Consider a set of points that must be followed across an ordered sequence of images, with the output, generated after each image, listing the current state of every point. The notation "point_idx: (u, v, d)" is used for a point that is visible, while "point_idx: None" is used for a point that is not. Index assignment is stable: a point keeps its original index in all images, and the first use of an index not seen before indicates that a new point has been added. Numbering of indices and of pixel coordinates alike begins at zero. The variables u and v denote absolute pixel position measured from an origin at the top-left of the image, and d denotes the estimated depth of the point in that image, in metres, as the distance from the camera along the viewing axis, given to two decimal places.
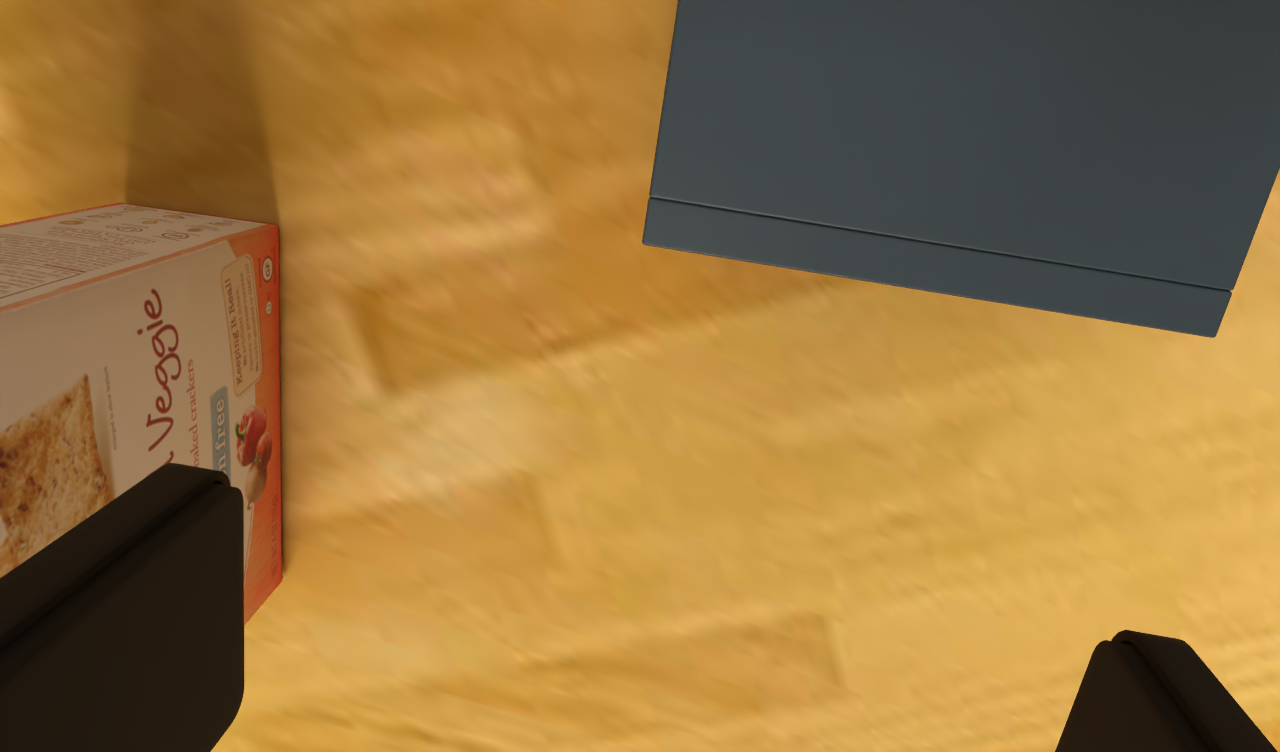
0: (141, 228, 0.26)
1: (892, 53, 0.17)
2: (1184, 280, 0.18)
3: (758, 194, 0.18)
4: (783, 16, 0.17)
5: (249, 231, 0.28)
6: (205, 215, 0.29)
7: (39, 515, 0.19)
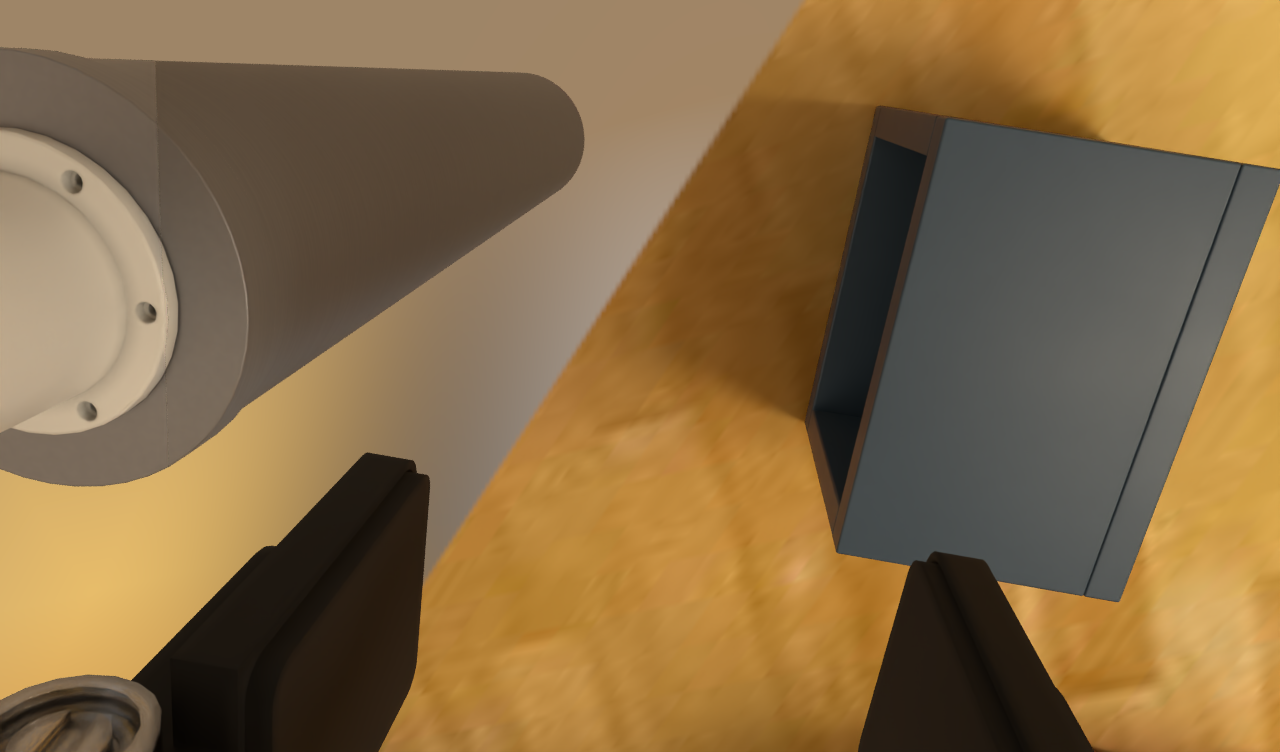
0: None
1: (1003, 438, 0.23)
2: (1224, 206, 0.21)
3: (1094, 524, 0.24)
4: (968, 509, 0.24)
5: None
6: None
7: None
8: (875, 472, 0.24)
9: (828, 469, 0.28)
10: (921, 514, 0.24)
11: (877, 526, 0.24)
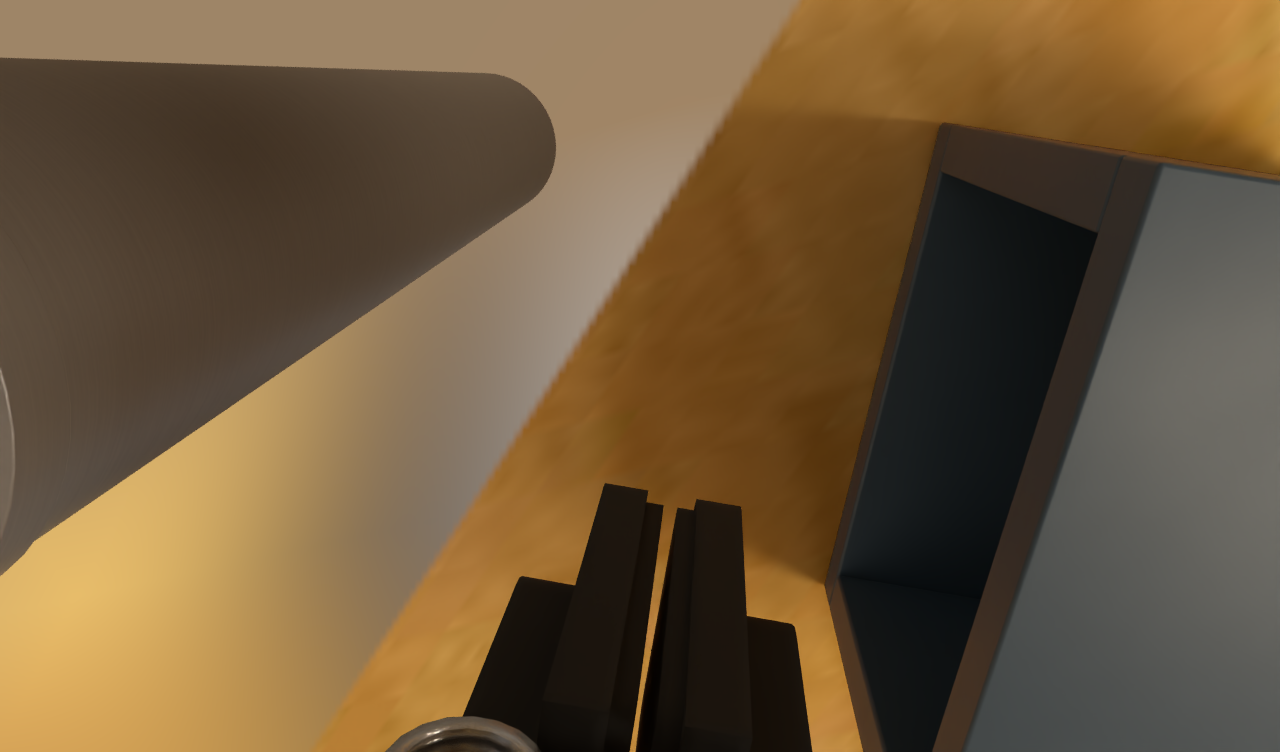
0: None
1: None
2: None
3: None
4: None
5: None
6: None
7: None
8: None
9: (875, 722, 0.17)
10: None
11: None
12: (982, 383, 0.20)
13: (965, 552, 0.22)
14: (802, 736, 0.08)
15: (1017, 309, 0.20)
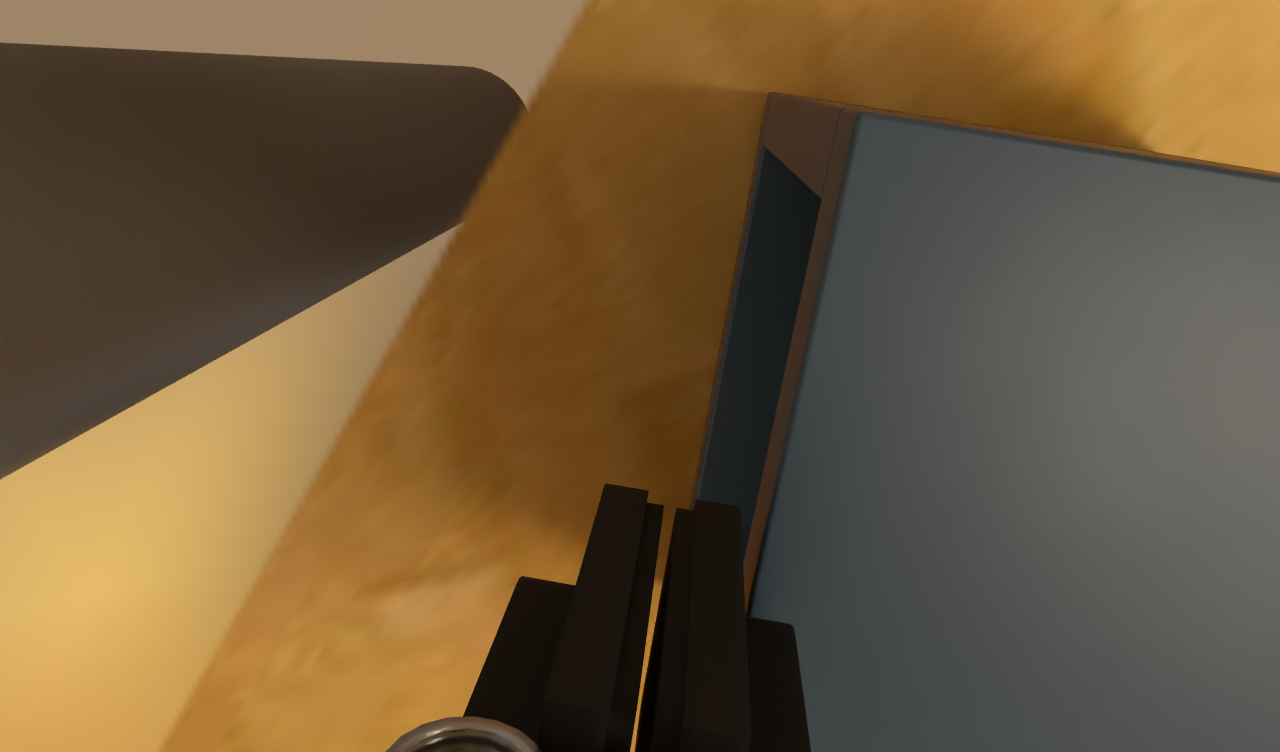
0: None
1: None
2: None
3: None
4: None
5: None
6: None
7: None
8: None
9: None
10: None
11: None
12: None
13: None
14: (801, 737, 0.08)
15: None
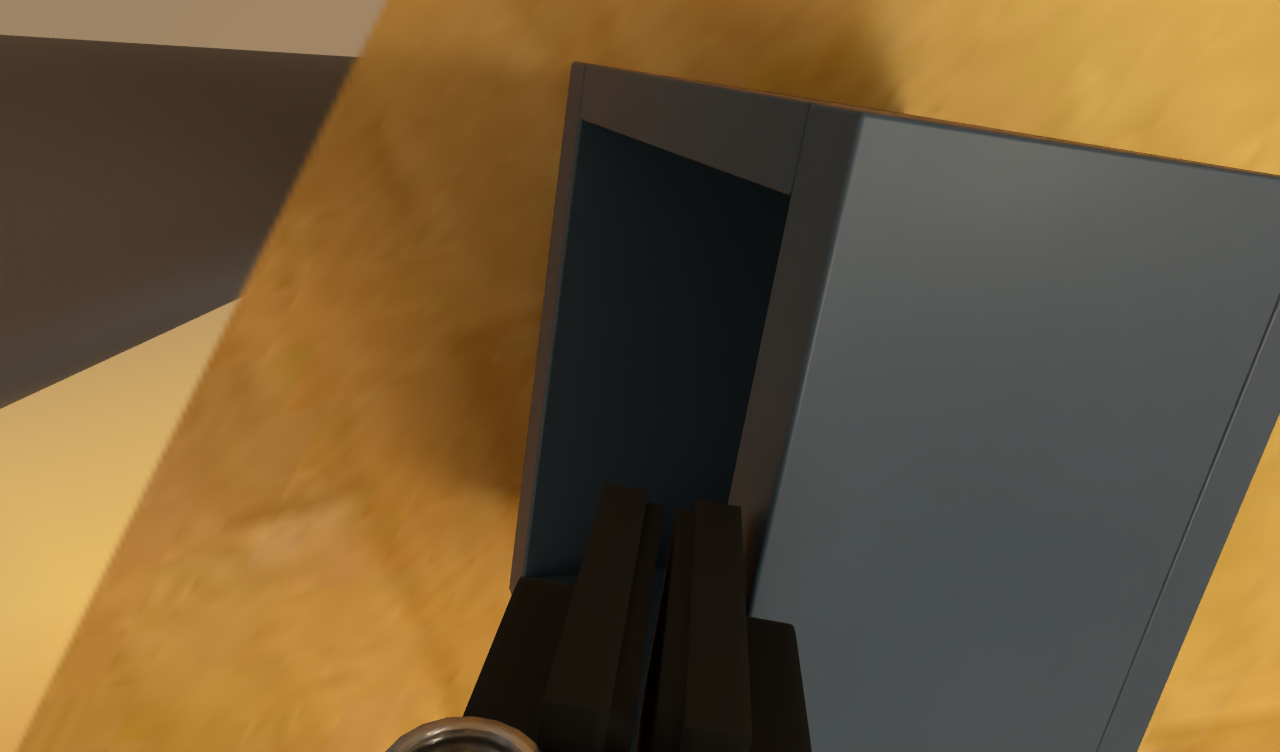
0: None
1: (944, 719, 0.12)
2: None
3: None
4: None
5: None
6: None
7: None
8: None
9: None
10: None
11: None
12: (648, 348, 0.19)
13: None
14: (802, 736, 0.08)
15: (674, 266, 0.18)
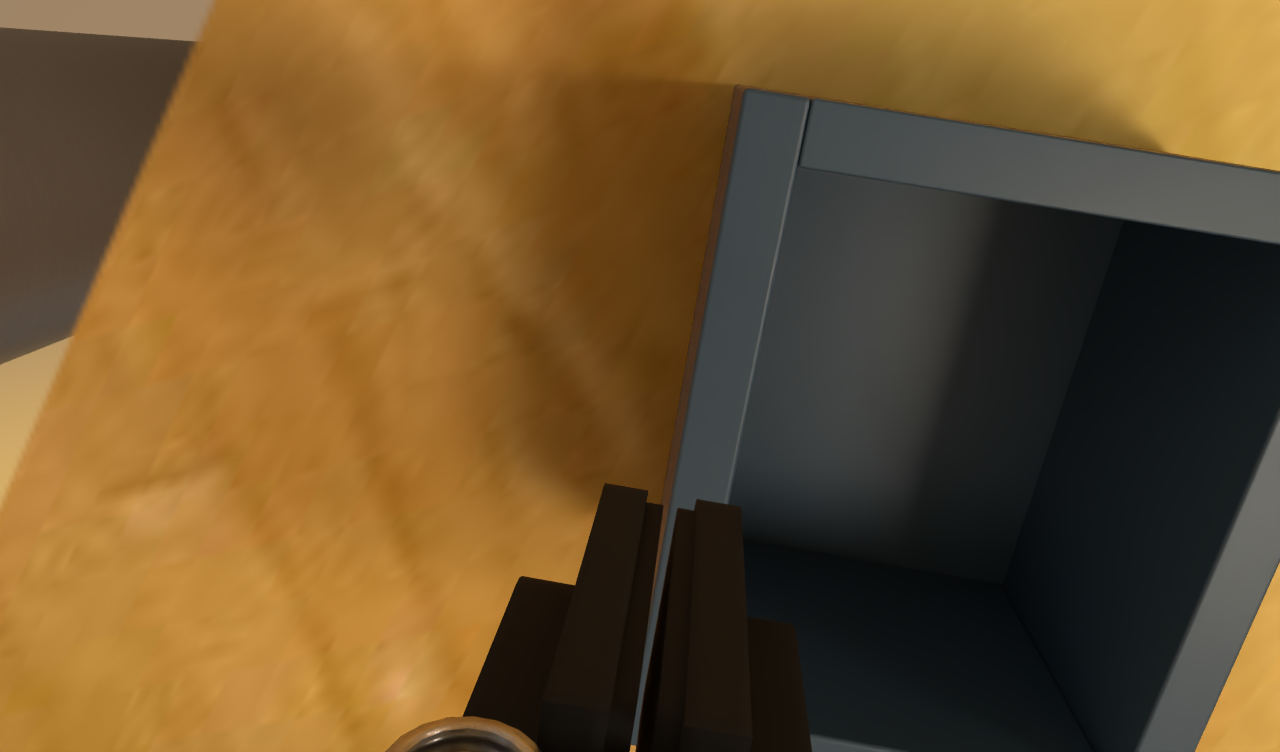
0: None
1: None
2: None
3: None
4: None
5: None
6: None
7: None
8: None
9: None
10: None
11: None
12: None
13: None
14: (802, 736, 0.08)
15: None
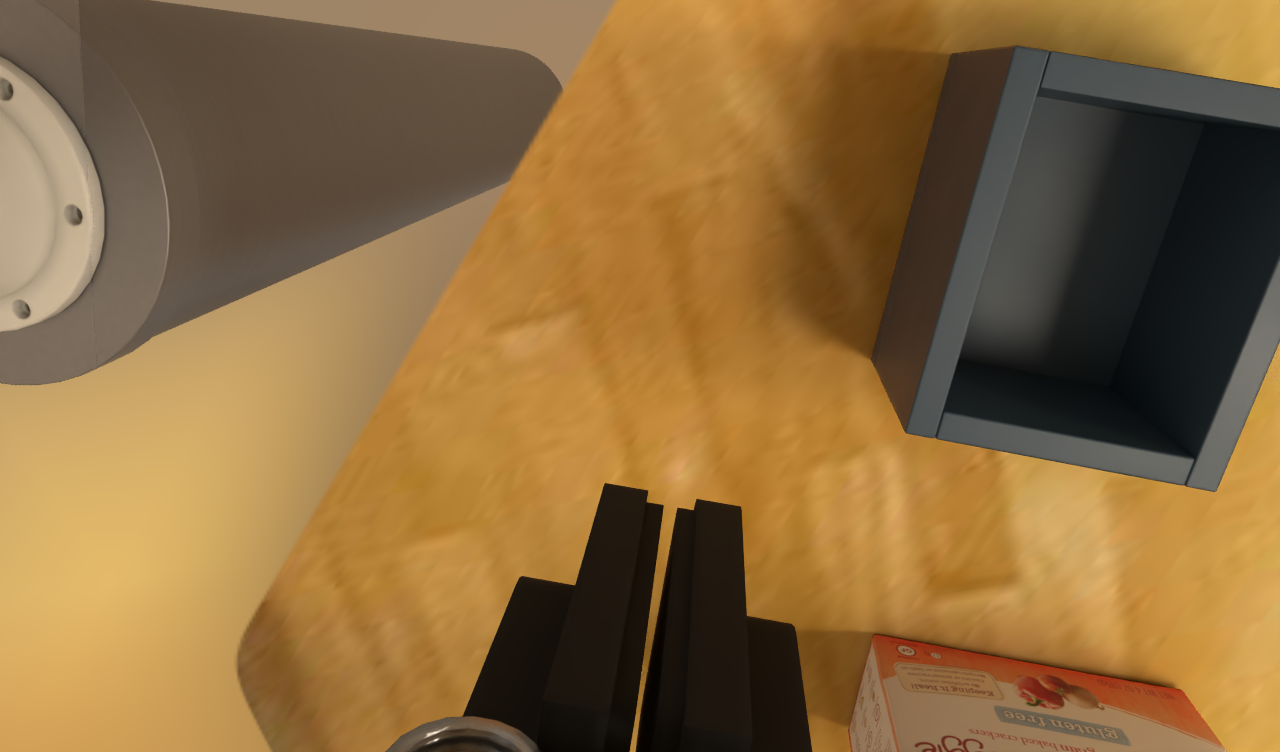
0: (869, 730, 0.37)
1: None
2: None
3: None
4: None
5: (877, 658, 0.38)
6: (862, 680, 0.40)
7: None
8: None
9: (1110, 444, 0.28)
10: None
11: None
12: None
13: None
14: (802, 737, 0.08)
15: None
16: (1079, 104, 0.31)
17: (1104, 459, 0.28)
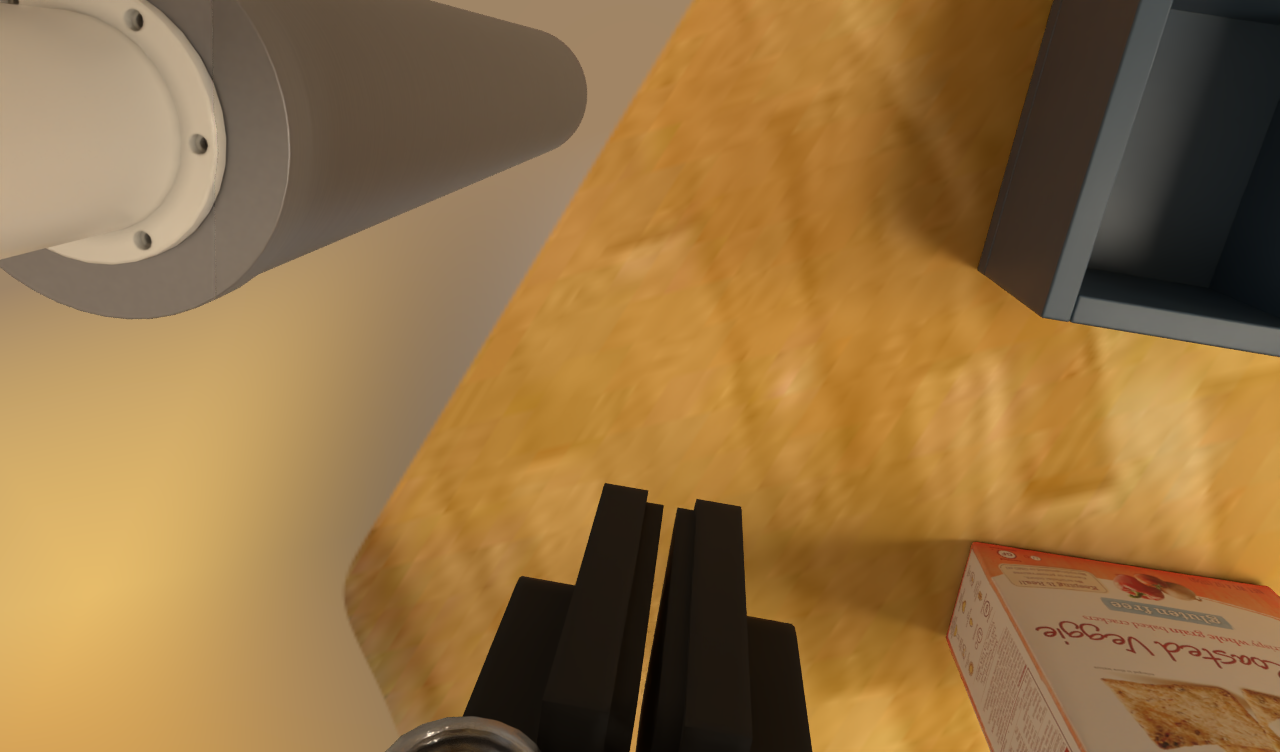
0: (978, 628, 0.39)
1: None
2: None
3: None
4: None
5: (980, 561, 0.40)
6: (961, 586, 0.42)
7: (1203, 726, 0.30)
8: None
9: (1236, 322, 0.30)
10: None
11: None
12: None
13: None
14: (802, 736, 0.08)
15: None
16: (1187, 12, 0.33)
17: (1230, 337, 0.30)
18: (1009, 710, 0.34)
